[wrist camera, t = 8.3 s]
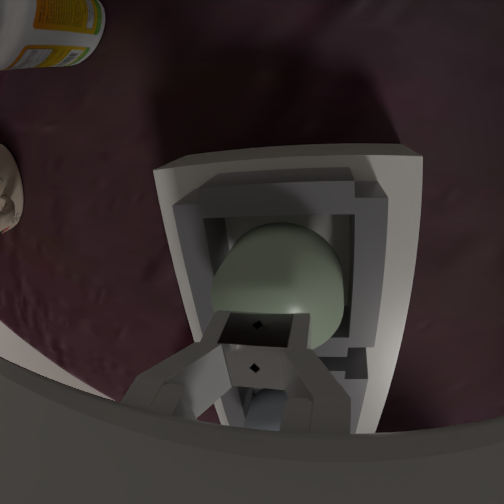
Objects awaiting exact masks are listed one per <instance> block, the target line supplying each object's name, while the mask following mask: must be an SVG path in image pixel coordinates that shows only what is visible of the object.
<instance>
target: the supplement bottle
mask: <svg viewBox="0 0 504 504" xmlns="http://www.w3.org/2000/svg"><path fill="white" fill-rule="evenodd" d="M104 27H105V10H104V7H103V5H102V4H101V2H100V1H99V0H0V71H1V70H9V69H21V68H36V67H60V66H72V65H75V64H78V63H80V62H82V61H83V60H85V59H86V58H87V57H88V56H89V55H90V54H91V53H92V52H93V51H94V49H95V48H96V46H97V45H98V43H99V41H100V39H101V37H102V34H103V31H104Z"/></svg>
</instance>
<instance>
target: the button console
mask: <svg viewBox="0 0 504 504" xmlns="http://www.w3.org/2000/svg"><path fill="white" fill-rule="evenodd" d="M153 173H154V178H155V183H156V188H157V193H158V198H159V203H160V208H161V212H162V217H163V222H164V226H165V231H166V235H167V239H168V244H169V248H170V252H171V256H172V260H173V264H174V268H175V272H176V276H177V280H178V284H179V288H180V292H181V296H182V299H183V303H184V307H185V310H186V314H187V318H188V321H189V325H190V328H191V332H192V335H193V338H194V342H200V341H201V339H202V337H203V335H204V333H205V331H206V329H207V327H208V325H209V323H210V321H211V319H212V317H213V315H214V311H213V308H212V304H211V286H212V282H213V279H214V276H215V274H216V272H217V271H218V269H219V267H220V266H221V264H222V263H223V261H224V259H225V258H226V256H227V254H228V253H229V251H230V250H231V248H232V246H233V245H234V244H235V242H236V241H237V240H238V239H239V238H240V237H241V236H242V235H243V234H245V233H246V232H247V231H249V230H251V229H253V228H255V227H257V226H260V225H263V224H268V223H275V222H287V223H293V224H297V225H301V226H304V227H306V228H309V229H311V230H313V231H314V232H316V233H318V234H319V235H320V236H322V237H323V238H324V239H325V240H326V241H327V242H328V243H329V244H330V245H331V246H332V248H333V249H334V250H335V252H336V254H337V256H338V258H339V260H340V263H341V267H342V275H343V293H344V312H343V317H342V320H341V323H340V325H339V327H338V329H337V330H336V331H335V333H334V334H333V335H332V336H331V337H330V338H329V339H328V340H327V341H326V342H325V343H323V344H322V345H320V346H318V347H317V348H315V349H312V350H313V351H314V353H315V354H316V355H317V356H318V358H319V359H320V360H321V361H322V363H323V364H324V365H325V366H326V368H327V369H328V370H329V371H330V373H331V374H332V375H333V376H334V378H335V379H336V380H337V381H338V383H339V384H340V385H341V386H342V388H343V389H344V390H345V391H346V393H347V394H348V395H349V396H350V398H351V424H350V434H366V433H375V432H376V429H377V426H378V423H379V420H380V417H381V414H382V411H383V407H384V404H385V401H386V398H387V394H388V391H389V387H390V384H391V380H392V377H393V373H394V369H395V365H396V362H397V358H398V353H399V349H400V345H401V341H402V336H403V331H404V327H405V322H406V317H407V312H408V306H409V301H410V295H411V289H412V283H413V276H414V269H415V262H416V254H417V245H418V236H419V225H420V213H421V197H422V173H423V156H421V155H420V154H418V153H416V152H414V151H413V150H411V149H409V148H407V147H406V146H404V145H402V144H381V143H343V144H308V145H288V146H272V147H259V148H247V149H236V150H226V151H217V152H208V153H200V154H192V155H186V156H184V157H181V158H179V159H177V160H175V161H172V162H170V163H168V164H166V165H164V166H161V167H159V168H157V169H155V170H153ZM261 389H263V388H256V387H241V386H232V387H231V388H230V389H229V390H228V391H227V392H226V393H225V394H223V395H222V396H221V397H220V398H219V399H218V400H217V401H216V402H214V405H215V408H216V411H217V413H218V416H219V419H220V422H221V425H227V426H234V427H242V428H243V427H244V423H245V420H246V417H247V413H248V410H249V406H250V403H251V400H252V397H253V396H254V395H255V394H256V393H257V392H258V391H259V390H261Z"/></svg>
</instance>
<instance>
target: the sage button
mask: <svg viewBox="0 0 504 504" xmlns="http://www.w3.org/2000/svg"><path fill="white" fill-rule="evenodd" d="M211 304H212V308H213V311H214V313H215V312H216V311H218V310H223V311H241V312H257V313H282V314H294V313H310V314H311V349H315V348H317V347H318V346H320V345H322V344H323V343H325V342H326V341H327V340H328V339H329V338H330V337H331V336H332V335H333V334H334V333H335V331H336V330H337V329H338V327H339V325H340V323H341V320H342V317H343V312H344V293H343V275H342V267H341V263H340V260H339V258H338V256H337V254H336V252H335V250H334V249H333V248H332V246H331V245H330V244H329V243H328V242H327V241H326V240H325V239H324V238H323V237H322V236H320V235H319V234H318V233H316V232H314V231H313V230H311V229H309V228H306V227H304V226H301V225H297V224H293V223H287V222H275V223H268V224H263V225H260V226H257V227H255V228H253V229H251V230H249V231H247V232H246V233H245V234H243V235H242V236H241V237H240V238H239V239H238V240H237V241H236V242H235V244H234V245H233V246H232V248H231V250H230V251H229V253H228V254H227V256H226V258H225V259H224V261H223V263H222V264H221V266H220V267H219V269H218V271H217V272H216V274H215V276H214V279H213V282H212V286H211Z"/></svg>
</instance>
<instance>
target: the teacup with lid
mask: <svg viewBox="0 0 504 504" xmlns="http://www.w3.org/2000/svg"><path fill="white" fill-rule="evenodd" d="M23 202H24V195H23V185H22V180H21V175H20V172H19V169H18V166H17V164H16V161H15V159H14V157H13V156H12V154H11V153H10V151H9V150H8V149H7V148H6V147H5V146H4V145H2V144H0V235H1V234H3V233H4V232H6V231H7V230H9V229H11V228H13V227H14V226H15V225H16V224H17V223H18V221H19V220H20V217H21V215H22V211H23Z"/></svg>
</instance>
